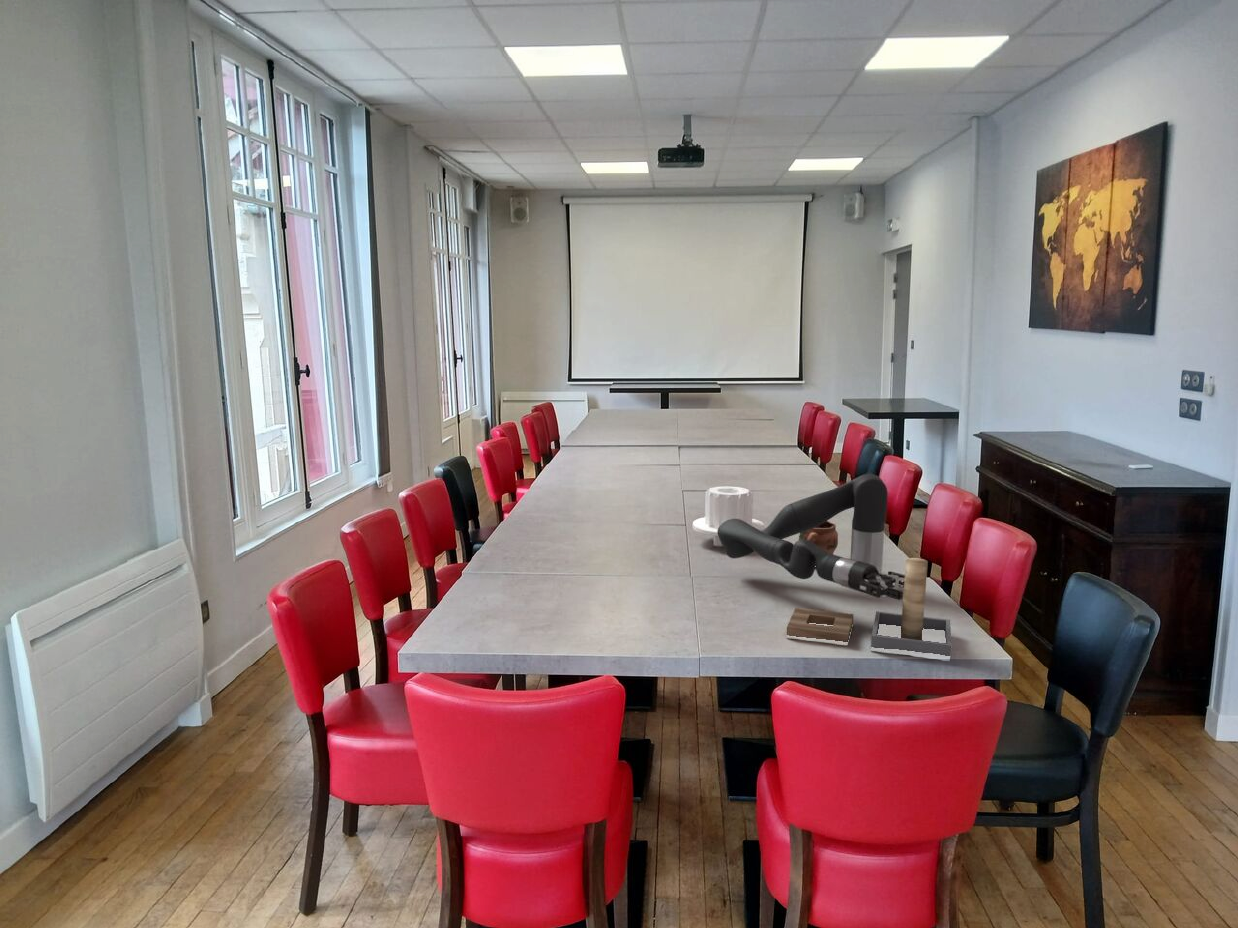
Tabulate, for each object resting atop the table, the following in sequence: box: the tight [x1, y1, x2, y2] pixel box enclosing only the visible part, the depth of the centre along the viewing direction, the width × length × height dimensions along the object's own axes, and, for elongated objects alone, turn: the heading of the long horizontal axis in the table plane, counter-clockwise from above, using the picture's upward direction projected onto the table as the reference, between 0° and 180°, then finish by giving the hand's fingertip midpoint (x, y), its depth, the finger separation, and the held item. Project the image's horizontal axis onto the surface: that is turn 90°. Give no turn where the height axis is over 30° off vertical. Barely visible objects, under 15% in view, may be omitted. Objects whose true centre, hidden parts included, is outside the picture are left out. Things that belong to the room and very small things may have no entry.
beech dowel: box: [901, 557, 929, 640], centre depth 211 cm, size 5×5×20 cm
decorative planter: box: [798, 520, 839, 555], centre depth 275 cm, size 20×12×14 cm, turn 154°
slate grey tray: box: [870, 610, 952, 657], centre depth 212 cm, size 18×18×4 cm
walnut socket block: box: [786, 607, 855, 642], centre depth 219 cm, size 15×15×3 cm
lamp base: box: [692, 485, 765, 547], centre depth 301 cm, size 25×25×19 cm
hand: (911, 592), depth 210 cm, fingers open, 8 cm apart
